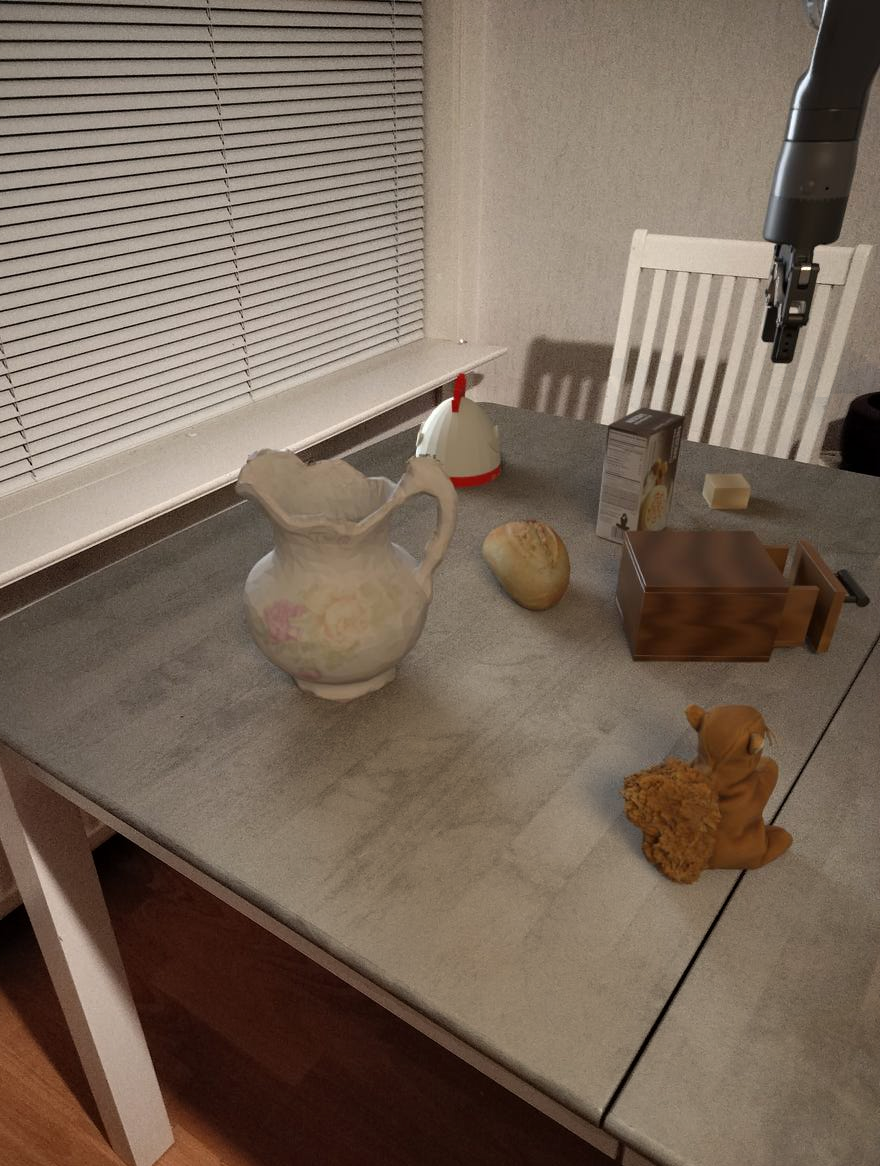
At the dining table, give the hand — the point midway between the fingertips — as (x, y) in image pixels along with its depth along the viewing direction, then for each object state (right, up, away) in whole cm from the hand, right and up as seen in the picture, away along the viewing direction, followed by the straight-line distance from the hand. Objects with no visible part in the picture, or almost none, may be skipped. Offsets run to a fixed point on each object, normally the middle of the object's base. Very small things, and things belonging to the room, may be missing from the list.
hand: (775, 351), depth 96 cm
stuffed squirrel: (-18, -50, -25) cm, 59 cm away
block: (+4, -14, +27) cm, 31 cm away
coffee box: (-10, -18, +23) cm, 31 cm away
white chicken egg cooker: (-33, -5, +42) cm, 54 cm away
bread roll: (-27, -26, +11) cm, 39 cm away
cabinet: (-9, -31, +2) cm, 33 cm away
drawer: (0, -31, +1) cm, 31 cm away
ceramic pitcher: (-48, -36, -2) cm, 60 cm away
